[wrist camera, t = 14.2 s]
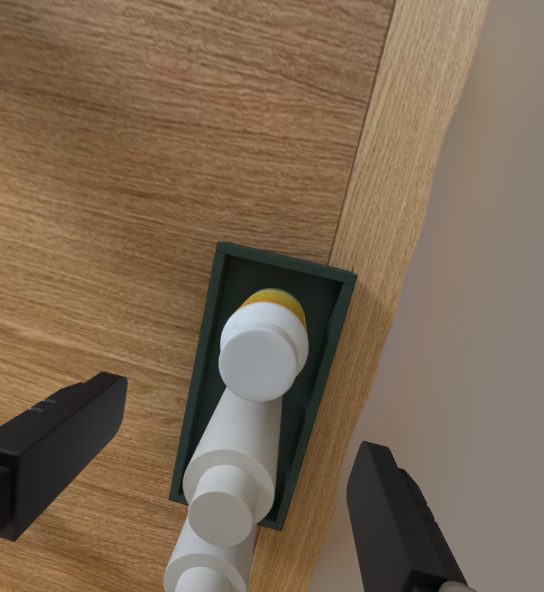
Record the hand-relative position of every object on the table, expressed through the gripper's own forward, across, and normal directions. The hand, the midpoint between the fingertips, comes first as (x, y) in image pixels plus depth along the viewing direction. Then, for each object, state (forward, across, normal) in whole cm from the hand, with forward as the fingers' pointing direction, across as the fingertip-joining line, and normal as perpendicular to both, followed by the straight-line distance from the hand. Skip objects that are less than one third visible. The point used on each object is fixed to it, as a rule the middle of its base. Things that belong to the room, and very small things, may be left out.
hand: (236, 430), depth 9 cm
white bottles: (+14, 0, +11) cm, 18 cm away
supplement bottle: (+14, 0, 0) cm, 14 cm away
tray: (+15, 0, +7) cm, 17 cm away
